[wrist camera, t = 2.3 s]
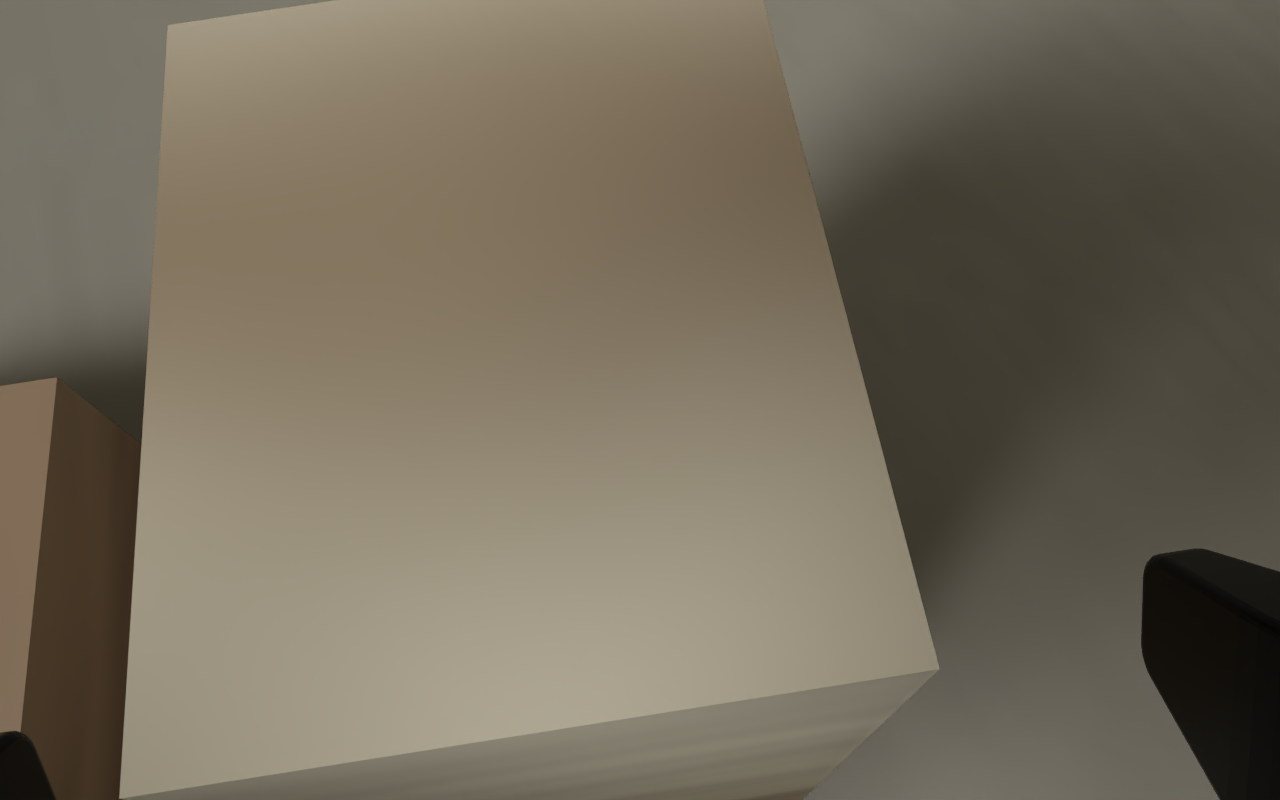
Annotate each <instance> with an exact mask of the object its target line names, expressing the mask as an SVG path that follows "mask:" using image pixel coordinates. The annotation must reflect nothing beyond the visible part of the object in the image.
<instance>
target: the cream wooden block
mask: <svg viewBox="0 0 1280 800" xmlns="http://www.w3.org/2000/svg"><path fill="white" fill-rule="evenodd" d="M939 669H940V668H939V665H938V661H937V657H936V653H935V649H934V646H933V642H932V638H931V634H930V630H929V627H928V623H927V619H926V615H925V611H924V608H923V604H922V600H921V596H920V592H919V589H918V585H917V581H916V577H915V573H914V570H913V566H912V562H911V558H910V554H909V551H908V547H907V543H906V539H905V535H904V532H903V528H902V524H901V520H900V516H899V513H898V509H897V505H896V501H895V497H894V494H893V490H892V486H891V482H890V478H889V475H888V471H887V467H886V463H885V459H884V456H883V452H882V448H881V444H880V440H879V437H878V433H877V429H876V425H875V422H874V418H873V414H872V410H871V406H870V403H869V399H868V395H867V391H866V387H865V384H864V380H863V376H862V372H861V368H860V365H859V361H858V357H857V353H856V349H855V346H854V342H853V338H852V334H851V330H850V327H849V323H848V319H847V315H846V311H845V308H844V304H843V300H842V296H841V292H840V289H839V285H838V281H837V277H836V273H835V270H834V266H833V262H832V258H831V254H830V251H829V247H828V243H827V239H826V235H825V232H824V228H823V224H822V220H821V216H820V213H819V209H818V205H817V201H816V198H815V194H814V190H813V186H812V182H811V179H810V175H809V171H808V167H807V163H806V160H805V156H804V152H803V148H802V144H801V141H800V137H799V133H798V129H797V125H796V122H795V118H794V114H793V110H792V106H791V103H790V99H789V95H788V91H787V87H786V84H785V80H784V76H783V72H782V68H781V65H780V61H779V57H778V53H777V49H776V46H775V42H774V38H773V34H772V30H771V27H770V23H769V19H768V15H767V11H766V8H765V4H764V0H335V1H328V2H321V3H314V4H308V5H301V6H294V7H287V8H281V9H274V10H267V11H260V12H254V13H247V14H240V15H233V16H227V17H220V18H213V19H206V20H200V21H193V22H186V23H179V24H173V25H168V33H167V49H166V65H165V80H164V96H163V112H162V128H161V144H160V160H159V176H158V192H157V207H156V223H155V239H154V255H153V271H152V287H151V303H150V318H149V334H148V350H147V366H146V382H145V398H144V414H143V430H142V445H141V461H140V477H139V493H138V509H137V525H136V541H135V556H134V572H133V588H132V604H131V620H130V636H129V652H128V668H127V683H126V699H125V715H124V731H123V747H122V763H121V779H120V795H119V799H124V800H802V799H803V798H804V797H805V796H806V795H807V794H809V793H810V792H811V791H812V790H813V789H814V788H815V787H816V786H817V785H818V784H819V783H820V782H821V781H822V780H823V779H824V778H825V777H826V776H828V775H829V774H830V773H831V772H832V771H833V770H834V769H835V768H836V767H837V766H838V765H839V764H840V763H841V762H842V761H843V760H844V759H845V758H846V757H848V756H849V755H850V754H851V753H852V752H853V751H854V750H855V749H856V748H857V747H858V746H859V745H860V744H861V743H862V742H863V741H864V740H865V739H867V738H868V737H869V736H870V735H871V734H872V733H873V732H874V731H875V730H876V729H877V728H878V727H879V726H880V725H881V724H882V723H883V722H884V721H886V720H887V719H888V718H889V717H890V716H891V715H892V714H893V713H894V712H895V711H896V710H897V709H898V708H899V707H900V706H901V705H902V704H903V703H905V702H906V701H907V700H908V699H909V698H910V697H911V696H912V695H913V694H914V693H915V692H916V691H917V690H918V689H919V688H920V687H921V686H922V685H924V684H925V683H926V682H927V681H928V680H929V679H930V678H931V677H932V676H933V675H934V674H935V673H936V672H937V671H938V670H939Z"/></svg>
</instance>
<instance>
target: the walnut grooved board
mask: <svg viewBox="0 0 1280 800" xmlns="http://www.w3.org/2000/svg"><path fill="white" fill-rule="evenodd" d="M140 461H141V444H140V443H138V442H137V441H136V440H135V439H133V438H132V437H131V436H130V435H128V434H127V433H126V432H125V431H123V430H122V429H121V428H120V427H118V426H117V425H116V424H115V423H113V422H112V421H111V420H110V419H108V418H107V417H106V416H105V415H104V414H102V413H101V412H100V411H99V410H97V409H96V408H95V407H94V406H92V405H91V404H90V403H89V402H87V401H86V400H85V399H84V398H82V397H81V396H80V395H79V394H77V393H76V392H75V391H74V390H72V389H71V388H70V387H69V386H67V385H66V384H65V383H64V382H62V381H61V380H60V379H59V378H57V377H56V378H49V379H42V380H36V381H29V382H23V383H16V384H10V385H3V386H0V732H7V731H18V732H21V733H23V734H25V735H27V736H28V737H29V738H30V740H31V741H32V742H33V744H34V746H35V748H36V750H37V753H38V755H39V758H40V760H41V762H42V765H43V767H44V770H45V772H46V775H47V777H48V780H49V782H50V784H51V787H52V789H53V792H54V794H55V797H56V799H57V800H124V799H119V795H120V779H121V763H122V747H123V731H124V715H125V699H126V683H127V668H128V652H129V636H130V620H131V604H132V588H133V572H134V556H135V541H136V525H137V509H138V493H139V477H140Z"/></svg>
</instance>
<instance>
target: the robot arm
mask: <svg viewBox="0 0 1280 800" xmlns="http://www.w3.org/2000/svg"><path fill="white" fill-rule="evenodd" d="M1141 646H1142V654H1143V658H1144V662H1145V665H1146V668H1147V671H1148V673H1149V675H1150V677H1151V679H1152V681H1153V682H1154V684H1155V686H1156V688H1157V689H1158V691H1159V693H1160V695H1161V697H1162V698H1163V700H1164V702H1165V704H1166V705H1167V707H1168V709H1169V711H1170V712H1171V714H1172V716H1173V718H1174V720H1175V721H1176V723H1177V725H1178V727H1179V728H1180V730H1181V732H1182V734H1183V735H1184V737H1185V739H1186V741H1187V743H1188V744H1189V746H1190V748H1191V750H1192V751H1193V753H1194V755H1195V757H1196V758H1197V760H1198V762H1199V764H1200V766H1201V767H1202V769H1203V771H1204V773H1205V774H1206V776H1207V778H1208V780H1209V782H1210V783H1211V785H1212V787H1213V789H1214V790H1215V792H1216V794H1217V796H1218V797H1219V799H1220V800H1280V572H1278V571H1275V570H1272V569H1269V568H1265V567H1262V566H1259V565H1256V564H1252V563H1249V562H1246V561H1243V560H1239V559H1236V558H1233V557H1229V556H1226V555H1223V554H1220V553H1216V552H1213V551H1210V550H1206V549H1189V550H1182V551H1176V552H1170V553H1163V554H1158V555H1155V556H1153V557H1152V558H1151V559H1150V560H1149V561H1148V562H1147V563H1146V566H1145V569H1144V575H1143V600H1142V634H1141ZM0 800H57V799H56V797H55V794H54V792H53V789H52V787H51V784H50V782H49V780H48V777H47V775H46V772H45V770H44V767H43V765H42V762H41V760H40V758H39V755H38V753H37V750H36V748H35V746H34V744H33V742H32V741H31V740H30V738H29V737H28V736H27V735H25V734H23V733H21V732H18V731H7V732H0Z"/></svg>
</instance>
